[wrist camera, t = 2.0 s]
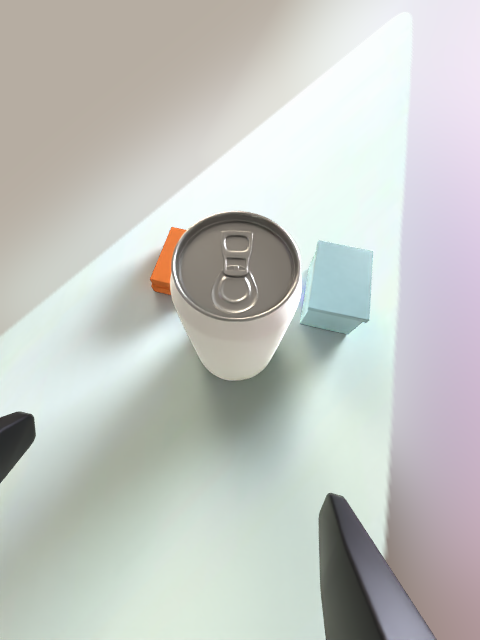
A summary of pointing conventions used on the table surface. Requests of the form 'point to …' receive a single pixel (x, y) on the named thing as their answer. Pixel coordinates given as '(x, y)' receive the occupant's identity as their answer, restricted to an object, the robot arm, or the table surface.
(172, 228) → the orange rectangular block
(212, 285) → the can
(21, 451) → the robot arm
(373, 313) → the table surface
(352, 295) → the box
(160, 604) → the table surface
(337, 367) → the table surface
